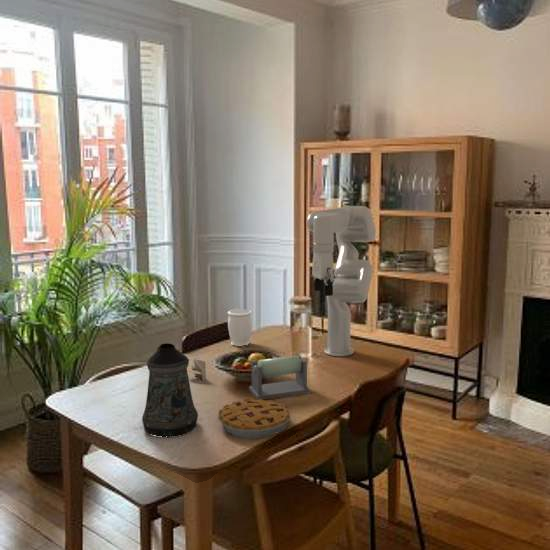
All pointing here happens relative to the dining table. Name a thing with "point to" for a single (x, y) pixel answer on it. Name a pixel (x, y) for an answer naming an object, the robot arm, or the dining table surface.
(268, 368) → the roll
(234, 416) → the pie
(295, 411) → the dining table surface
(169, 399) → the beer stein
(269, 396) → the roll holder
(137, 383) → the dining table surface
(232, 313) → the jar
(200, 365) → the architectural model
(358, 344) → the dining table surface
